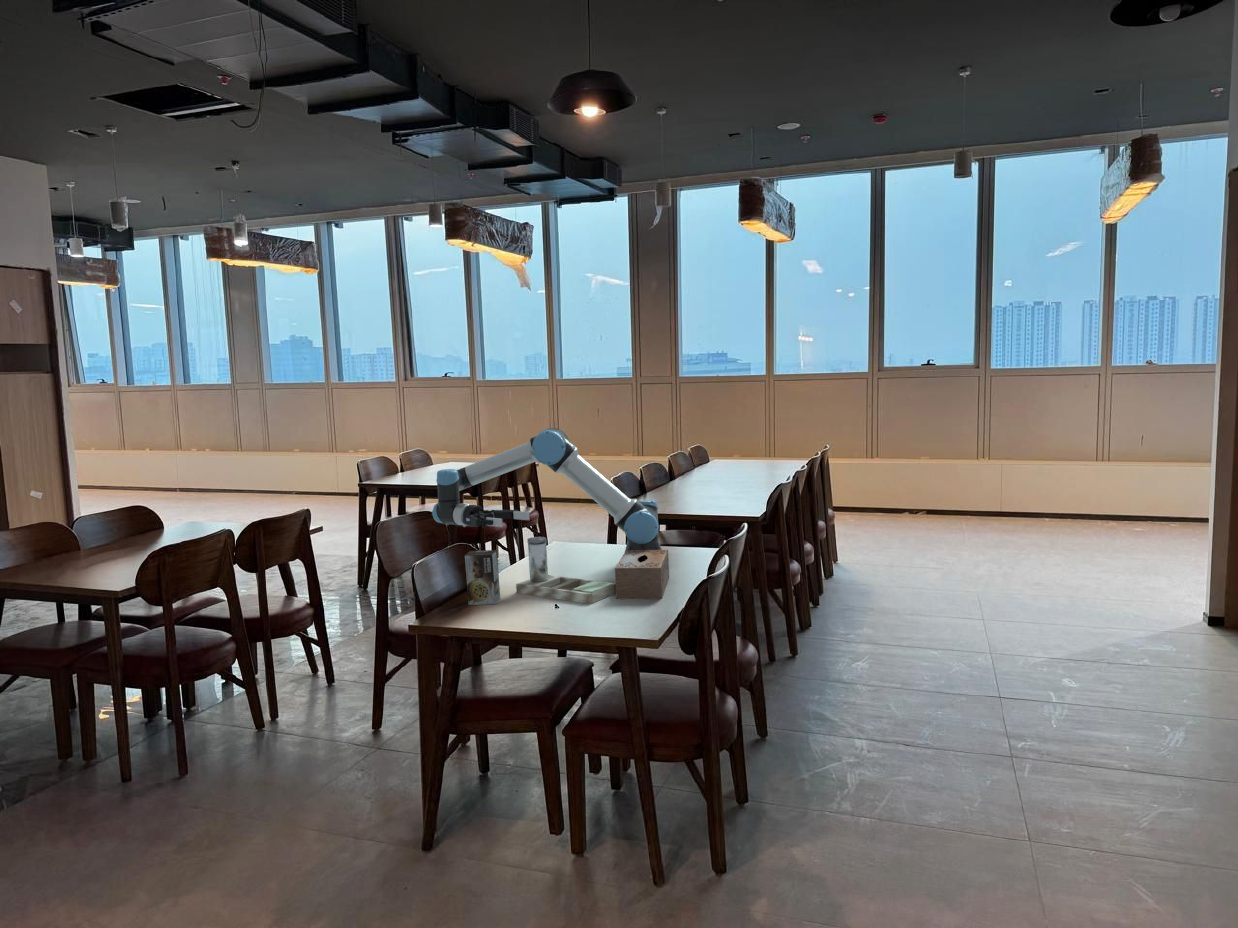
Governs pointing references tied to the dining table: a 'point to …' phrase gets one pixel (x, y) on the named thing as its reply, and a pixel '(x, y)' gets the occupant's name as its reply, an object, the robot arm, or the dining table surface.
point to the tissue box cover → (642, 574)
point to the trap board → (568, 589)
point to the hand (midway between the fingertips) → (515, 519)
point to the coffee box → (482, 577)
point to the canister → (537, 559)
